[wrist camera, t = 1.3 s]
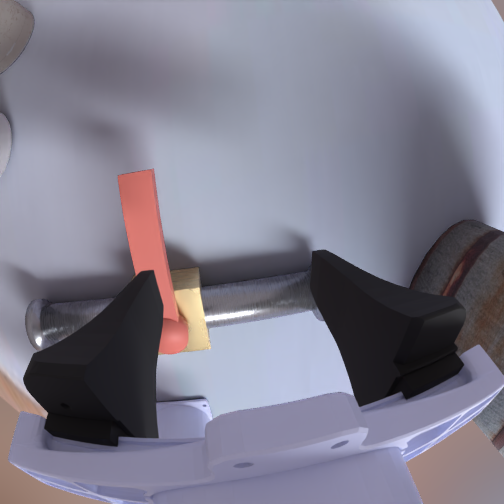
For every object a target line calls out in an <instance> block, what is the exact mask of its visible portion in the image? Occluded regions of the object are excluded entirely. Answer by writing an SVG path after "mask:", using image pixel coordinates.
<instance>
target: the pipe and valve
mask: <svg viewBox="0 0 504 504" xmlns="http://www.w3.org/2000/svg"><path fill="white" fill-rule="evenodd" d="M170 275H171V280H172V285H173V289H174V294H175V299H176V303H177V308H178V312H179V314H180V315H181V316H182V317H183V318H184V319H185V320H186V321H187V324H188V344H187V346H186V348H185V349H184V350H182V351H181V352H189V351H198V350H205V349H211V345H210V336H209V328H213V327H220V326H227V325H234V324H240V323H247V322H253V321H259V320H264V319H270V318H276V317H281V316H286V315H292V314H297V313H302V312H307V311H313V313H314V315H315V316H316V318H317V319H318V320H320V321H324V319H323V317H322V315H321V313H320V311H319V309H318V308H317V306H316V303H315V301H314V298H313V295H312V293H311V290H310V277H311V266H310V267H309V269H308V271H306V272H300V273H293V274H287V275H281V276H274V277H268V278H261V279H255V280H248V281H241V282H234V283H227V284H220V285H213V286H206V287H202V285H201V279H200V273H199V267H194V268H187V269H179V270H172V271H170ZM135 276H136V275H134V276H133V278H132V280H133V279H134V278H135ZM132 280H131V281H132ZM114 299H115V298H107V299H97V300H87V301H77V302H67V303H56V304H52V303H51V302H50V301H48V300H46V299H38V300H33V301H32V302H31V303H30V304H29V306H28V308H27V311H26V316H25V326H26V332H27V335H28V338H29V340H30V342H31V344H32V345H33V347H34V348H35V349H36V350H38V351H41V350H43V349H45V348H47V347H50V346H52V345H54V344H56V343H57V342H59V341H60V340H63V339H65V338H66V337H68V336H70V335H71V334H73V333H74V332H76V331H77V330H78V329H80V328H81V327H83V326H84V325H86V324H87V323H88V322H90V321H91V320H92V319H93V318H94V317H96V316H97V315H98V314H99V313H100V312H102V311H103V310H104V309H105V308H106V307H107V306H108V305H109V304H110V303H111V302H112V301H113V300H114ZM179 353H180V352H179ZM160 354H163V353H160V352H158V355H160Z"/></svg>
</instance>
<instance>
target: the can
mask: <svg viewBox="0 0 504 504" xmlns="http://www.w3.org/2000/svg"><path fill="white" fill-rule="evenodd" d="M11 145H12V140H11V129H10V125H9V122H8V120H7V118H6V117H5V115H4V114H2V113H0V177H1V176H2V174H3V172H4V171H5V169H6V166H7V163H8V160H9V157H10V151H11Z"/></svg>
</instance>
